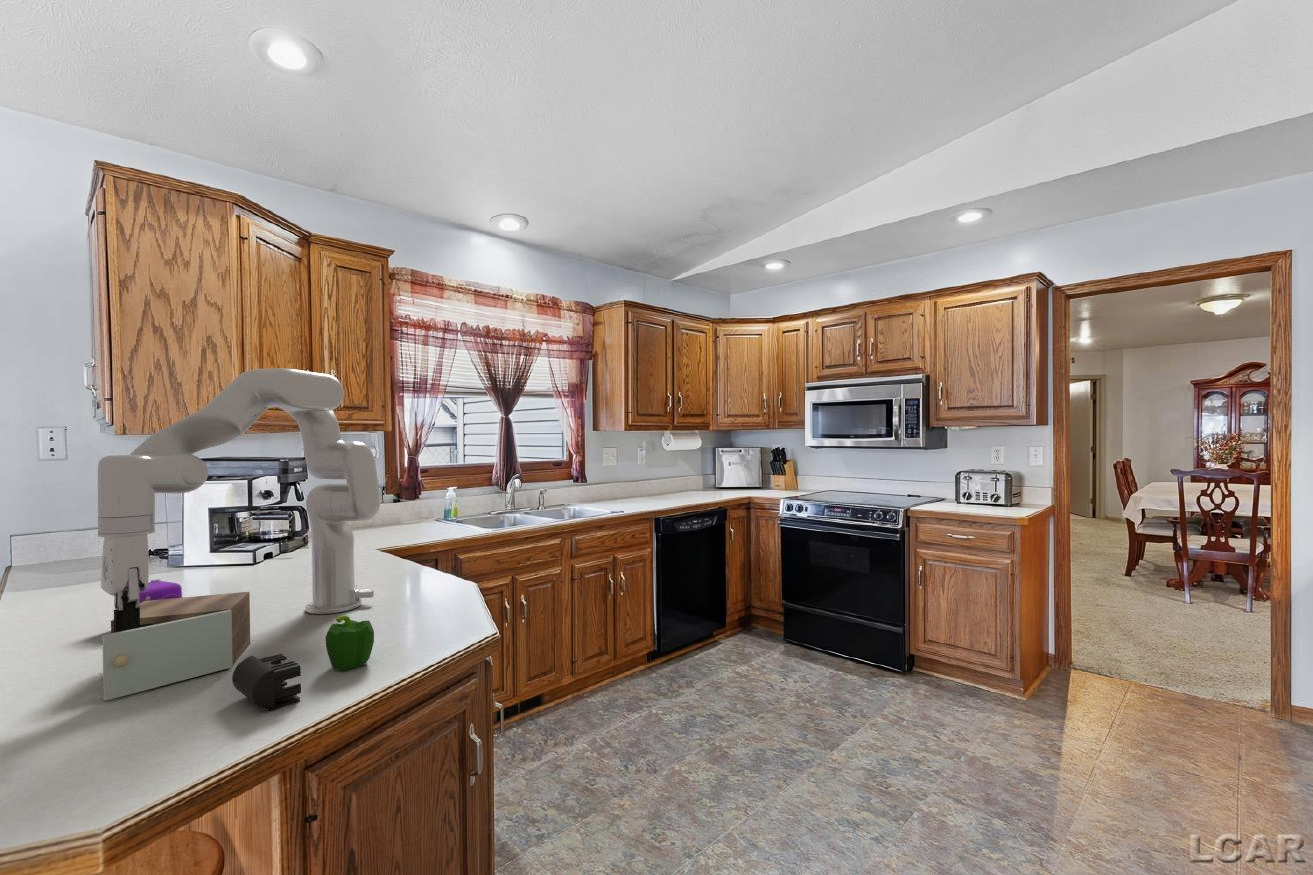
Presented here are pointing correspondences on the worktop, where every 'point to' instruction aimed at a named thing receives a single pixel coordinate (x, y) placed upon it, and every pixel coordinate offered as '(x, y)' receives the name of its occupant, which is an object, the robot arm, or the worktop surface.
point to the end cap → (268, 681)
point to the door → (166, 653)
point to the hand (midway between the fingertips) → (126, 631)
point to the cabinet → (198, 606)
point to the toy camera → (161, 591)
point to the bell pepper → (349, 643)
